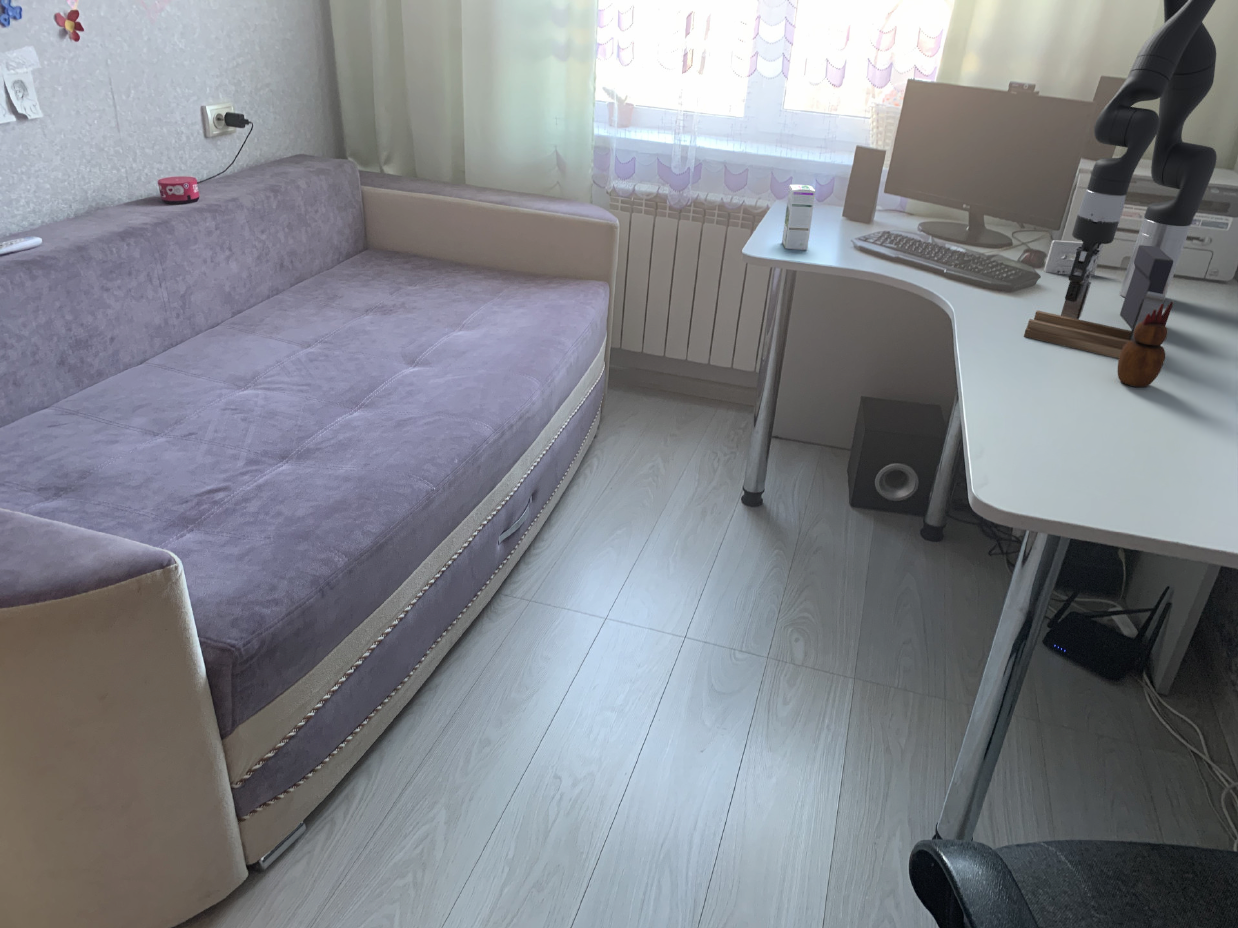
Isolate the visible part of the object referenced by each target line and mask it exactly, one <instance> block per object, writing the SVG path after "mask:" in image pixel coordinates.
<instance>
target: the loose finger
mask: <svg viewBox="0 0 1238 928" xmlns="http://www.w3.org/2000/svg"><path fill="white" fill-rule="evenodd" d="M1081 274H1082V273H1079V272H1076V273H1075V275H1078V276H1081ZM1092 276H1093V275H1092V274H1087V275H1086V276H1085V278H1084V282H1083V283H1082V286H1081V289H1080V292H1079V295H1078V299H1077V301H1075V302H1072V301H1067V300H1065V299H1064V304H1063V307H1062V310H1061V313H1060V315H1061V316H1065V317H1070V318H1075V319H1079V320H1080V319H1081V317H1082V314H1083V311H1084V307H1085V305H1086V301H1087V298H1088V294H1089V291H1090V288H1091V285H1092V281H1091V278H1092Z"/></svg>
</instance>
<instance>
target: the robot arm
mask: <svg viewBox="0 0 1238 928" xmlns="http://www.w3.org/2000/svg"><path fill="white" fill-rule="evenodd" d="M1216 1H1217V0H1163V11H1164V13H1163V15H1164V16H1163V17H1164V19H1163V20H1164V21H1163V22H1164V23H1163V24H1162V25H1161V26H1160V27H1159V28H1158V29H1157V30H1155V31H1154V32H1153V33H1152V34H1151V35H1150V36H1149V38H1147V40H1146V41H1145V42H1144V44H1143V45H1142V46H1141V48H1140V50H1139V51H1138V53H1137V56H1136V58H1135V59H1134V62H1133V65H1132V66H1131V69H1130V71H1129V73H1128V76H1127V77H1126V79H1125V80H1124V82H1123V84H1122V85H1121V86H1120V88H1119V89H1118V91H1117V92H1116V93H1115V94H1114V96H1113V97H1112V98H1111V99H1110V100H1109V102H1108V103H1107V104H1106V105H1105V106H1104V108H1102V111H1101V112H1100V113H1099V115H1098V116H1097V118H1096V121H1095V124H1094V129H1093V131H1094V132H1093V134H1094V137H1095V140H1096V141H1097V142H1098V143H1100V144H1104V145H1109V146H1115V147H1122V148H1127V149H1126V151H1125V153H1123V155H1121V156H1120V157H1106V158H1105V157H1104V158H1101V159H1098V160H1097V161H1095V163H1094V165H1093V168H1092V171H1091V172H1090V173H1091V174H1090V178H1089V180H1088V184H1087V187H1086V191H1085V193H1084V195H1083V197H1082V200H1081V203H1080V206H1079V209H1078V212H1077V215H1076V219H1075V223H1074V227H1073V229H1072V233H1071V235H1072V237H1073V238H1074V239H1076V240H1079V241H1080V242H1083V244H1082V246H1079V248H1077V250H1076V252H1075V254H1074V258H1073V259H1074V261H1073V264H1072V267H1071V273H1070V274H1069V275H1068V281H1069V283H1068V286H1067V290H1066V293H1065V296H1064V301H1065V300H1067V301H1072V302H1075V301H1077V299H1078V295H1079V292H1080V289H1081V286H1082V283H1083V282H1084V278H1085V276H1086V275H1087V274H1090V273H1091V272H1092V269H1093V268H1094V266H1095V264H1096V260H1097V258H1098V256H1099V253H1100V250H1099V247H1100V245H1101V244H1103V245H1107V244H1108V245H1109V244H1111V243H1112V242H1113V241H1114V239H1115V235H1116V232H1117V229H1118V225H1119V223H1120V220H1121V217H1122V213H1123V210H1124V207H1125V203H1126V202H1125V201H1126V197H1127V193H1128V190H1129V187H1130V183H1131V181H1132V179H1133V178H1132V177H1133V175H1134V173H1135V170H1136V169H1137V167H1138V165H1139V164H1140V161H1141V159H1142V157H1143V156H1144V154H1145V153H1146V151H1147V150H1148V148H1149V147H1150V145H1151V144H1152V143H1153V141H1154V146H1153V150H1152V151H1153V153H1152V159H1151V166H1150V169H1151V170H1150V174H1151V179H1152V181H1153V182H1154V183H1155V184H1157V185H1159V186H1163V187H1166V188H1171V189H1176V190H1178V191H1177V194H1176V196H1175V198H1174V199H1171V200H1169V201H1168V200H1167V201H1161V202H1154V203H1150V204H1149V205H1148V206H1147V208H1146V210H1145V213H1144V216H1143V219H1142V222H1141V226H1140V228H1139V232H1138V235H1137V238H1136V242H1135V244H1134V248H1133V251H1132V253H1131V257H1130V260H1129V262H1128V266H1127V269H1126V271H1125V275H1124V278H1123V281H1122V284H1121V287H1120V290H1119V295H1120V296H1122V297H1124V298H1125V297H1126V294H1127V291H1128V288H1129V285H1130V281H1131V278H1132V275H1133V272H1134V269H1135V265H1134V260H1135V256H1136V253H1137V250H1138V247H1139V245H1144V246H1154V247H1158V248H1159V249H1161V250H1162V251H1163V252H1164V253H1165V254H1166V255H1168V256H1169V257H1170V258H1171V259H1172V260H1173V262H1174V265H1173V268H1172V271H1171V274H1170V277H1169V280H1168V281H1167V282H1168V286H1167V289H1166V291H1165V294H1164V295H1165V298H1164V301H1163V303H1165V301H1166V296H1167V294H1168V292H1169V288H1170V286H1171V284H1172V281H1173V278H1174V275H1175V272H1176V269H1177V265H1178V263H1179V260H1180V258H1181V255H1182V252H1183V249H1184V246H1185V243H1186V241H1187V237H1188V235H1189V232H1190V228H1191V226H1192V223H1193V220H1194V218H1195V216H1196V214H1197V212H1198V210H1199V208H1200V206H1201V204H1202V201H1203V197H1204V196H1205V194H1206V191H1207V188H1208V186H1209V183H1210V181H1211V179H1212V176H1213V173H1214V171H1215V168H1216V163H1217V156H1218V155H1217V152H1216V149H1214V148H1213V147H1210V146H1207V145H1201V144H1197V143H1191V142H1185V141H1183V138H1182V135H1183V129H1184V124H1185V122H1186V120H1187V119H1188V117H1189V116H1190V115H1191V114H1192V112H1193V111H1194V110H1195V109H1196V108H1197V107H1198V106H1199V105H1200V103H1201V102H1202V101H1203V100H1204V98H1206V96H1207V95H1208V93H1209V92H1210V91H1211V88H1212V87H1213V84H1214V79H1215V72H1216V71H1215V70H1216V62H1217V61H1216V60H1217V49H1216V48H1217V47H1216V44H1215V42H1214V39H1213V37H1212V36H1211V34H1210V33H1209V30H1208V29H1207V27H1206V25H1205V24H1204V23H1203V21H1204V19H1205V18H1206V16H1207V15H1208V14H1209V13H1210V10H1211V8H1212V7H1213V6H1214V4H1215V3H1216ZM1158 99H1159V108H1158V113H1157V112H1156V111H1155V110H1153V109H1150V108H1143V107H1136V106H1134V105H1136V103H1137V104H1138V103H1141V102H1148V101H1154V100H1158ZM1076 272H1079V273H1082V274H1081V276H1078V275H1075V273H1076Z"/></svg>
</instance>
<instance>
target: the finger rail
mask: <svg viewBox="0 0 1238 928" xmlns="http://www.w3.org/2000/svg"><path fill="white" fill-rule="evenodd" d="M1164 298H1165V299H1166V297H1165V295H1164V294H1159V293H1154V292H1149V291H1148V292H1147V294H1146V296H1145V299H1143V300H1142V302H1141V304H1140V307H1139V310H1138V313H1137V316H1136V319H1135V322H1134V325H1133V328H1131V330H1129V329H1124V328H1120V327H1115V326H1112V325H1111V326H1110V325H1106V324H1102V323H1097V322H1093V321H1087V320H1082V319H1080V318H1079V319H1075V318H1070V317H1065V316H1061V314H1055V313H1052V312H1046V311H1041V310H1036V311H1035V313H1034V317H1033V319H1031V318H1029V319H1028V322H1027V326H1026V328H1025V331H1024V334H1023V337H1024V338H1029V339H1032V340H1033V339H1034V340H1037V341H1041V342H1046V343H1050V344H1055V345H1059V346H1064V347H1068V348H1072V349H1077V350H1080V351H1086V352H1090V353H1094V354H1097V355H1102V356H1106V357H1111V358H1116V359H1119V356H1120V353H1121V350H1122V348H1123V347H1124V345H1125V344H1126V343H1128V342H1129V341H1133V340H1135V339H1134V336H1133V334H1134V330H1135V327H1136V326H1137V325H1138V324H1139V323H1141V322H1142V321H1144V319H1145V317H1146V316H1147V314H1150V316H1151V314H1152V312H1153V310H1156V314H1157V312H1158V310H1159V308H1160V306H1161V304H1163V305H1164V302H1165V300H1164ZM1163 301H1164V302H1163ZM1160 346H1162V344H1161V345H1160Z"/></svg>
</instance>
